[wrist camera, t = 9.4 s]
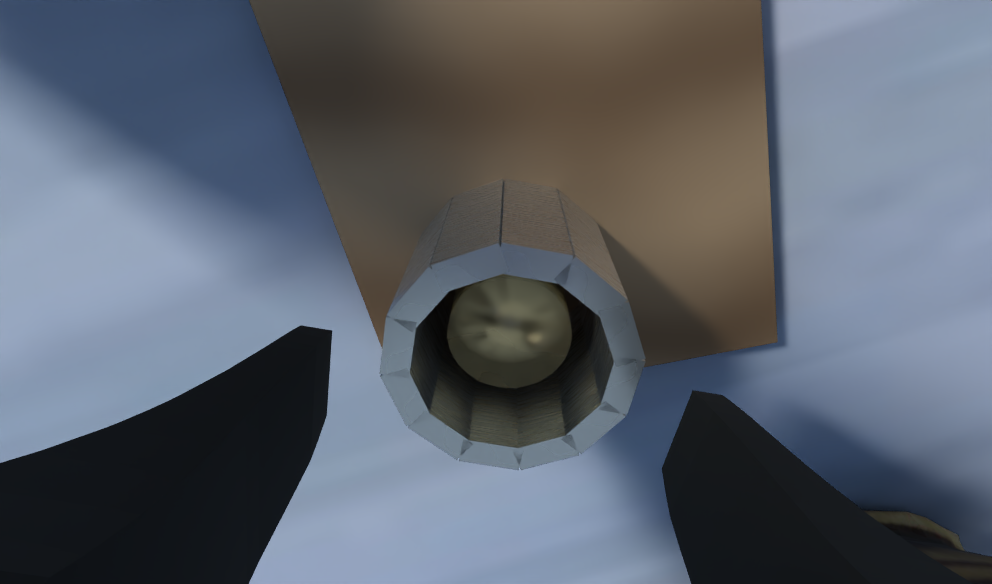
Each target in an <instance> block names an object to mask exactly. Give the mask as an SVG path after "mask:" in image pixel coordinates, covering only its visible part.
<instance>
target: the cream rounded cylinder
mask: <svg viewBox="0 0 992 584" xmlns="http://www.w3.org/2000/svg"><path fill="white" fill-rule="evenodd" d="M447 337H448V344H449V348H450V351H451V353H452V355H453V357H454V359H455V360H456V362H457V363H458V364H459V366H460V367H461V368H462V369H463V370H464V371H465V372H466V373H468V374H469V375H470V376H471V377H473V378H475V379H476V380H478V381H480V382H483V383H485V384H488V385H491V386H496V387H502V388H518V387H524V386H528V385H532V384H534V383H537V382H539V381H541V380H543V379H545V378H546V377H548V376H549V375H551V374H552V373H553V372H554V371H555V370H557V368H558V367H559V366H560V365H561V364H562V362H563V361H564V359H565V358H566V356H567V354H568V351H569V348H570V345H571V339H572V329H571V323H570V317H569V312H568V307H567V301H566V296H565V290H564V287H562V286H561V285H560V284H558V283H552V282H546V281H541V280H535V279H529V278H524V277H518V276H512V275H506V274H501V275H498V276H495V277H491V278H488V279H485V280H482V281H479V282H476V283H473V284H469V285H466V286H463V287H460V288H457V289H456V290H455V295H454V299H453V304H452V309H451V313H450V318H449V323H448V329H447Z"/></svg>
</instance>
